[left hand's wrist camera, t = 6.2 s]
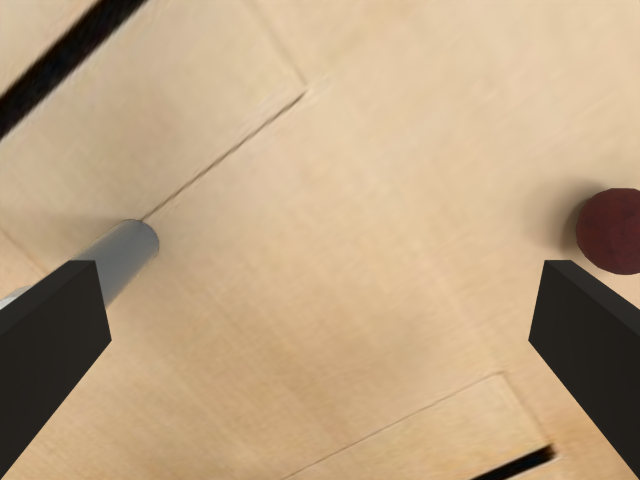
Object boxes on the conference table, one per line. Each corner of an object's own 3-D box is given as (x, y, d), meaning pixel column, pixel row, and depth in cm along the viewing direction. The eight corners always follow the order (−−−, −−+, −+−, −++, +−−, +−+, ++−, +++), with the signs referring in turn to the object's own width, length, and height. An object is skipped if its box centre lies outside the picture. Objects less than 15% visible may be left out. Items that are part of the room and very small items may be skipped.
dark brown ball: (577, 267, 43) (624, 302, 36) (547, 206, 40) (591, 230, 34) (649, 229, 41) (711, 258, 35) (621, 163, 39) (683, 180, 32)
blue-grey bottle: (105, 221, 41) (-16, 301, 26) (153, 217, 41) (58, 295, 26) (118, 266, 43) (11, 364, 28) (164, 261, 43) (81, 358, 28)
